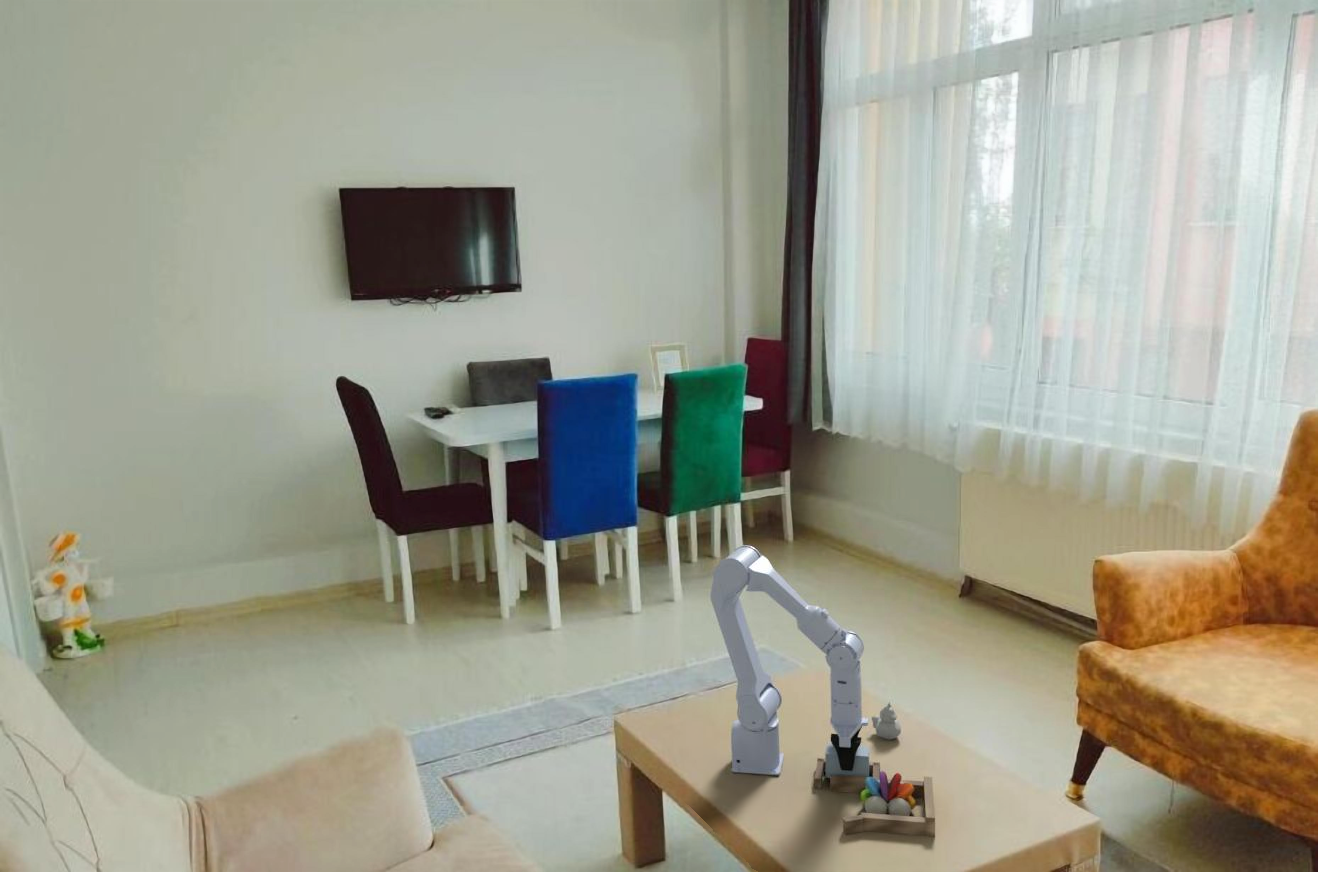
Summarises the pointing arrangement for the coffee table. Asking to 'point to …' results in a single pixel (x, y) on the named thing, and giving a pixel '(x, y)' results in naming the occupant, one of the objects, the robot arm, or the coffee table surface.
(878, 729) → the grey figurine
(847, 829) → the frame
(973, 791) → the coffee table surface
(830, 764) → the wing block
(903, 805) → the rainbow fan toy
